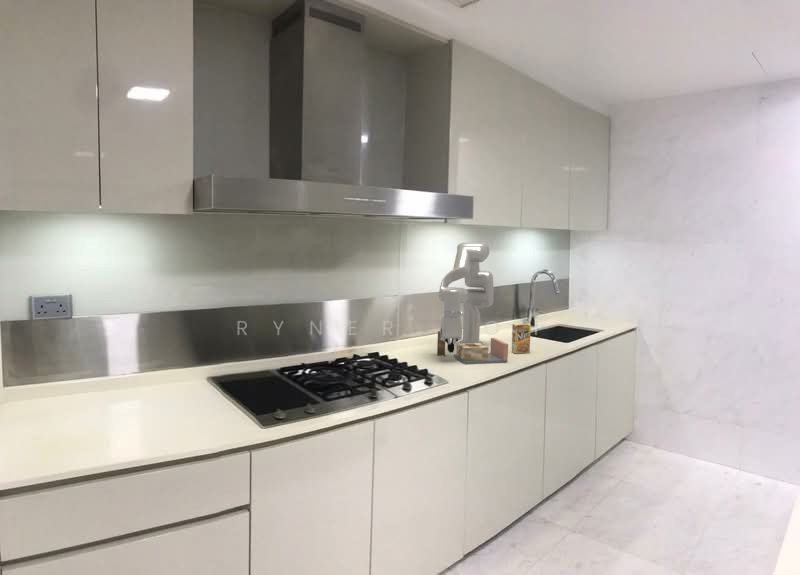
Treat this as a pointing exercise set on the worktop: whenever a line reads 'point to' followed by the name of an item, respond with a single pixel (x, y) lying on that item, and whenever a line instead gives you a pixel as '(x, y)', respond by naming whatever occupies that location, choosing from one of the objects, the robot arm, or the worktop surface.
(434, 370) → the worktop surface
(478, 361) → the rail board
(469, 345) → the socket block
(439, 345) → the dowel
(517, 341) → the candy box
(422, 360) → the worktop surface
